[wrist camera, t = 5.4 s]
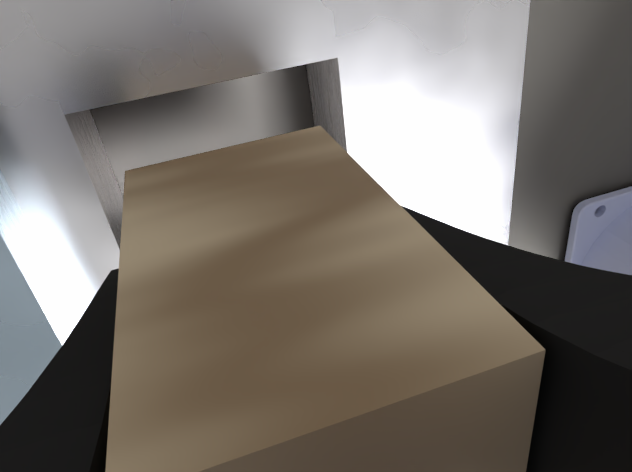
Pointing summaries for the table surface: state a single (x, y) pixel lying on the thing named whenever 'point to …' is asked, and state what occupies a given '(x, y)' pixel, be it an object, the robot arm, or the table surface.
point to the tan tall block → (304, 326)
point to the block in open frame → (222, 65)
